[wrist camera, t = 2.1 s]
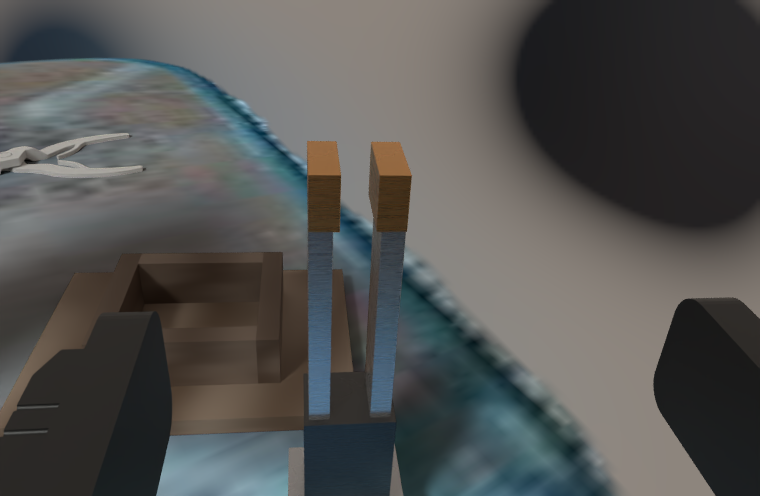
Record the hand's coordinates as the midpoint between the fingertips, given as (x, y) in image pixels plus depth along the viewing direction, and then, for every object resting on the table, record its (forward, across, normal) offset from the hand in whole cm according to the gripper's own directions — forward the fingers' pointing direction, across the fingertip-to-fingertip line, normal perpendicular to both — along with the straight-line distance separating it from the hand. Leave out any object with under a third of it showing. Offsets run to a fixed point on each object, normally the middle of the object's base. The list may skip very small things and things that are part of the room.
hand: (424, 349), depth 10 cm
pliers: (+52, +25, +19) cm, 61 cm away
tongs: (+12, 0, +19) cm, 23 cm away
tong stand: (+24, +8, +19) cm, 32 cm away
